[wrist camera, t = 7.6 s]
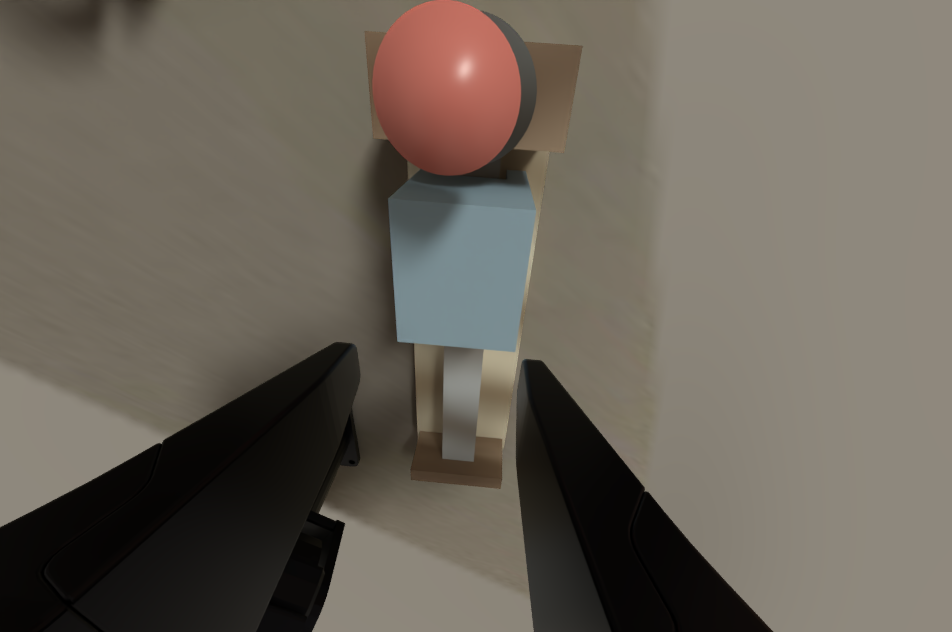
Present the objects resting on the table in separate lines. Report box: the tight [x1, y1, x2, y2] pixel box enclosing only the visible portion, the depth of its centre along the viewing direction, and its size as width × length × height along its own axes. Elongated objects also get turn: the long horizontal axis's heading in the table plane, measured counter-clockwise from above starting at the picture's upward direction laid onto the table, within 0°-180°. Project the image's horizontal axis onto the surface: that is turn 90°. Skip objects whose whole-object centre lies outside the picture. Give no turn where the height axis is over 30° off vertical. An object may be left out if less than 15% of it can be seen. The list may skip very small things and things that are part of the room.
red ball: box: [372, 0, 521, 176], centre depth 7 cm, size 2×2×2 cm
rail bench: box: [365, 11, 583, 489], centre depth 17 cm, size 23×6×6 cm, turn 177°
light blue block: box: [388, 169, 536, 352], centre depth 14 cm, size 5×4×6 cm
